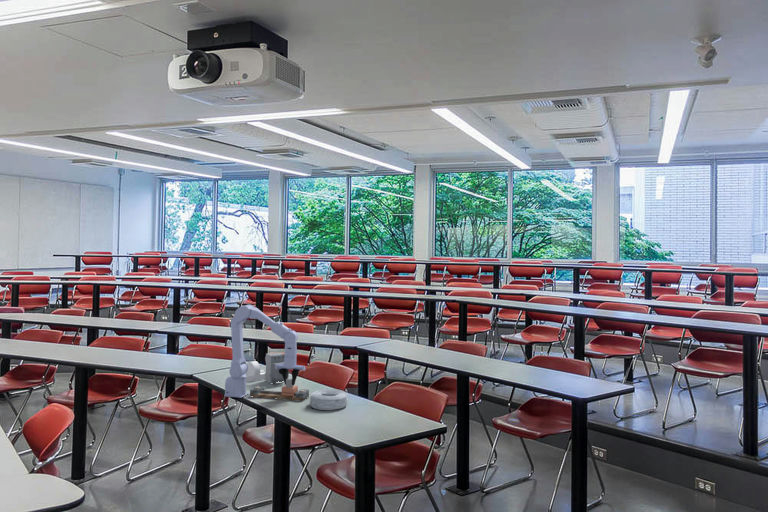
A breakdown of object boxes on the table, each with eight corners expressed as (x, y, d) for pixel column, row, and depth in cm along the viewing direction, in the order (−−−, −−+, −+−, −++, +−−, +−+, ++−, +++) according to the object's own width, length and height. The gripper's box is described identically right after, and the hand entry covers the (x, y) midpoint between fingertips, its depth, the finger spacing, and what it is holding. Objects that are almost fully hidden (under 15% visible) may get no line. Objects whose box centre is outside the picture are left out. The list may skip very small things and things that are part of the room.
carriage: (281, 395, 261) (281, 380, 261) (286, 392, 267) (286, 377, 267) (293, 396, 260) (293, 380, 260) (297, 392, 266) (298, 378, 266)
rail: (249, 397, 263) (250, 389, 263) (256, 393, 271) (256, 385, 271) (303, 401, 258) (303, 393, 258) (308, 397, 266) (309, 389, 266)
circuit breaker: (277, 386, 285) (278, 357, 285) (264, 381, 296) (265, 353, 296) (290, 384, 290) (290, 356, 290) (277, 379, 301) (277, 352, 301)
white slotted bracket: (271, 379, 303) (272, 360, 303) (242, 383, 290) (242, 364, 290) (262, 376, 310) (262, 358, 310) (233, 380, 297) (233, 361, 297)
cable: (341, 399, 263) (342, 387, 263) (352, 409, 247) (353, 396, 247) (305, 402, 257) (306, 389, 257) (314, 412, 240) (315, 399, 240)
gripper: (307, 355, 266) (306, 383, 266) (279, 354, 269) (278, 381, 269) (302, 358, 259) (302, 386, 259) (273, 356, 262) (273, 384, 262)
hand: (289, 384), depth 263 cm, fingers closed on carriage, 3 cm apart
